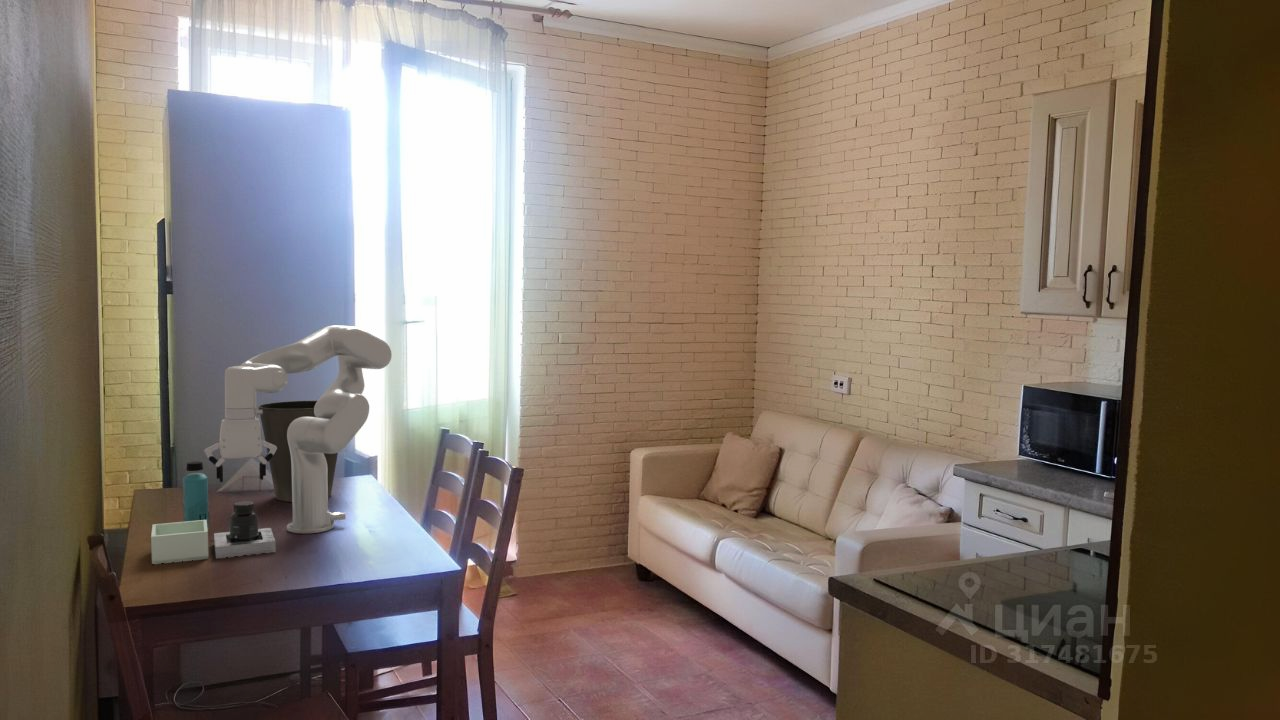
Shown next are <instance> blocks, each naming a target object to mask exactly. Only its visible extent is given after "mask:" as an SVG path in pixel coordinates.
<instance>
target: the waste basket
mask: <svg viewBox="0 0 1280 720" xmlns="http://www.w3.org/2000/svg"><path fill="white" fill-rule="evenodd" d="M317 401H318V400H292V401H291V400H290V401H289V400H288V401H277V402H268V403H263V404H259V405H258V406H257V408H258V409H262V410H263V414H260V415H259V416H260V423H261V425H262V426H261V428H262V431H263V437H264V441H266V442H268V443H270V444H273V445H275V446H276V447H277V450H276V452H275V453H274V455H273V457H272V458H271V459H270V460H269V461H268V463H269V468H270V473H271V474H270V475H271V480H272V483H273V484H272V485H273V490H274V495H275V499H276V500H279V501H280V502H281V501H282V502H289V503H292V465H291V454H290V449H289V445H288V440H287V430H288V427H289V425H290V424H291V423H292V422H293V421H294V420H295V419H297V418H300V417H316V416H315V414H314V407H315V404H316V402H317ZM265 448H266V453H267V454H268V453H269V452H270V449H269V448H267V447H265ZM338 454H339V452H338V453H334V454H328V453H324V456H325V458H326V461H327V469H328V473H327V479H328V498H329V497H331V495H332V490H333V484H334V479H335V478H334V477H335V472H336V468H337V467H336V466H337V461H338V460H337V459H338Z"/></svg>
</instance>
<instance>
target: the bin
mask: <svg viewBox="0 0 1280 720" xmlns="http://www.w3.org/2000/svg"><path fill="white" fill-rule="evenodd" d="M151 527H152V528H151V536H150V541H151V542H150V543H151V545H150V546H151V565H152V564H155V565H162V564H161V563H164V564H170V563H171V564H173V563H172V562H174V563H182V561H183V562H191V561H192V560H193V561H201V560H209V528H208V529H207V520H197V521H186V522H184V521H175V522H166V523H155V524H152V525H151ZM193 561H192V562H193Z"/></svg>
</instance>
